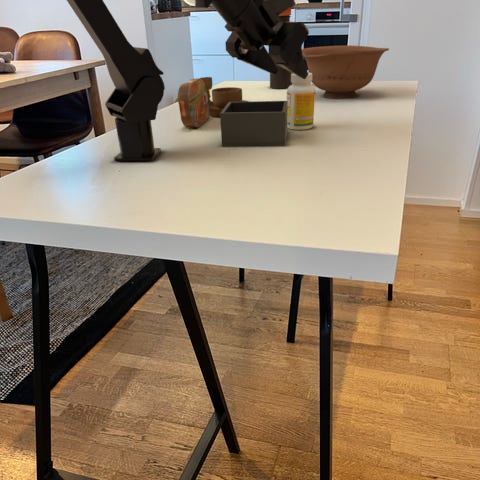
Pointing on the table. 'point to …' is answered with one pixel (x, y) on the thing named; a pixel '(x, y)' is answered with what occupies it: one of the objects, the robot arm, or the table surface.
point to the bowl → (342, 68)
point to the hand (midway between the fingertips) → (290, 74)
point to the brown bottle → (283, 75)
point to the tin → (194, 102)
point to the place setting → (222, 97)
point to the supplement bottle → (300, 103)
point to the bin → (254, 123)
